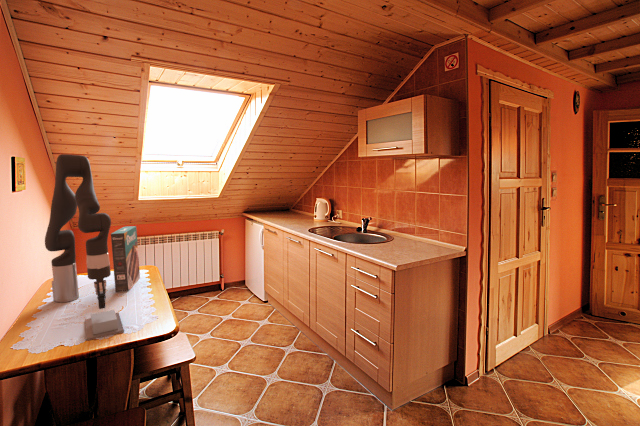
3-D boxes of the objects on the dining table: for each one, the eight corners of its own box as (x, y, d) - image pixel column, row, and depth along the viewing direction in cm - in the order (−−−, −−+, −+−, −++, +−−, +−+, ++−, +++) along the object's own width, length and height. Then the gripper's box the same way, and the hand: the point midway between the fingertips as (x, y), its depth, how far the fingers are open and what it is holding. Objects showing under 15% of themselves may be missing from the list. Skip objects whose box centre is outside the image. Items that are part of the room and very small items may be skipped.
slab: (91, 324, 140) (93, 334, 131) (90, 314, 140) (92, 324, 131) (114, 319, 145) (117, 329, 136) (114, 309, 144) (117, 319, 135)
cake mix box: (128, 291, 180) (124, 233, 176) (115, 292, 179) (110, 233, 175) (140, 278, 201) (136, 226, 197) (128, 278, 200) (124, 226, 196)
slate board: (85, 321, 145) (85, 319, 145) (118, 314, 152) (118, 312, 151) (86, 340, 128) (86, 338, 128) (123, 332, 135) (123, 330, 135)
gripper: (86, 262, 139) (90, 304, 141) (87, 270, 128) (91, 316, 131) (108, 259, 143) (111, 300, 146) (111, 267, 133) (114, 311, 135)
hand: (102, 308), depth 138 cm, fingers closed
